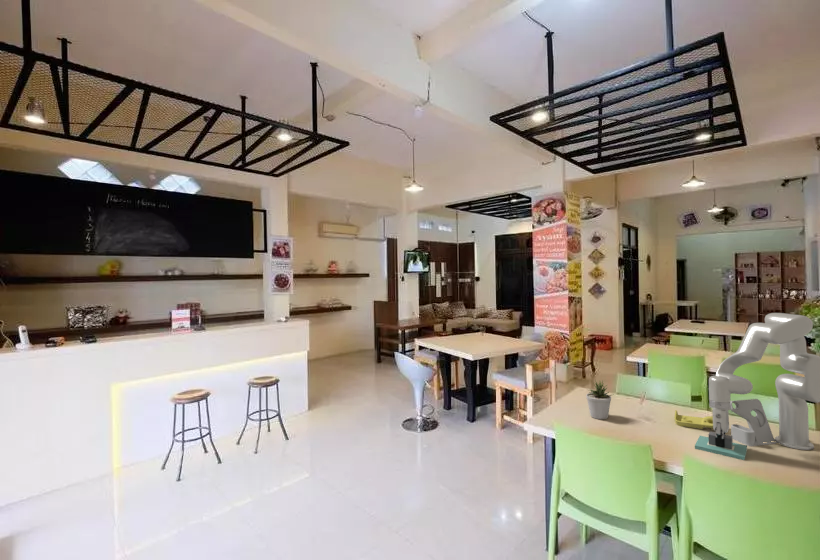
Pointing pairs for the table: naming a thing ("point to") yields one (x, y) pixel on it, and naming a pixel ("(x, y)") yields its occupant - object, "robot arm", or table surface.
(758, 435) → the phone holder
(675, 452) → the table surface
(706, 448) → the board
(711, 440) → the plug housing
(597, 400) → the potted plant
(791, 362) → the robot arm
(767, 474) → the table surface
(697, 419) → the plastic component
